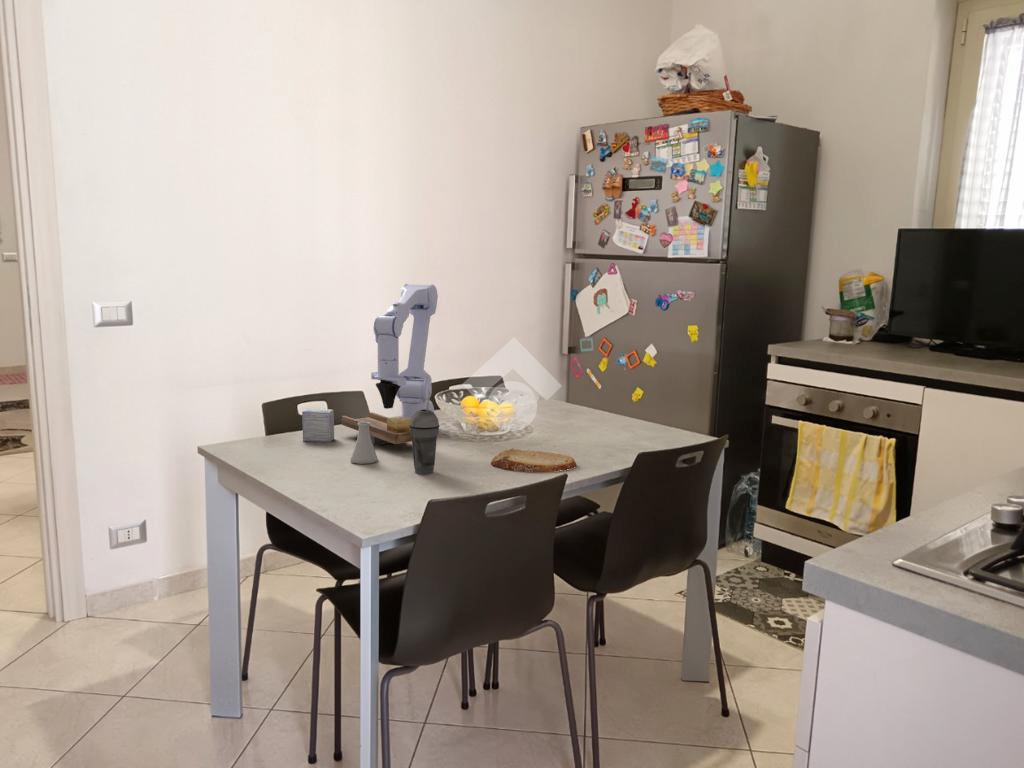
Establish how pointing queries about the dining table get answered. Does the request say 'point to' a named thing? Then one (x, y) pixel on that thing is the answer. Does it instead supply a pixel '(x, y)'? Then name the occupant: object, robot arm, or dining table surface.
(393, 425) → the wood grain cube
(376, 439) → the fulcrum
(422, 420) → the beverage cup
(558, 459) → the slice of bread
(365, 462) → the flask
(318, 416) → the grey streaked box
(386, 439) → the beam
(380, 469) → the dining table surface
